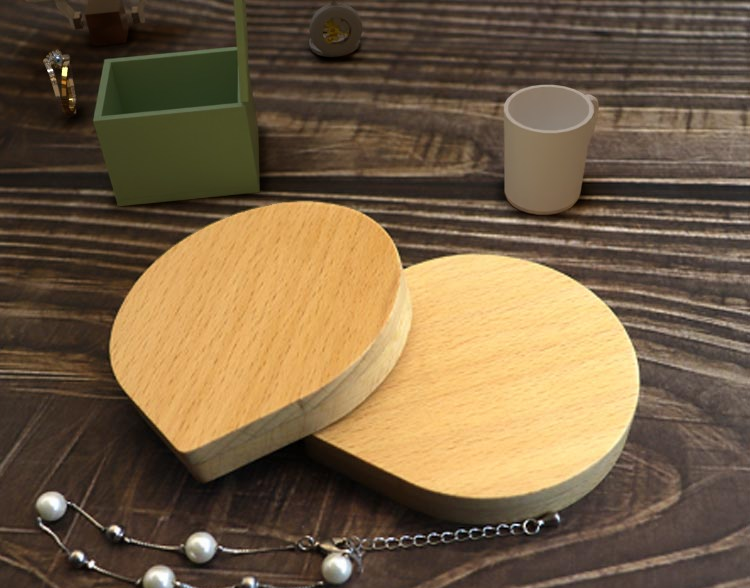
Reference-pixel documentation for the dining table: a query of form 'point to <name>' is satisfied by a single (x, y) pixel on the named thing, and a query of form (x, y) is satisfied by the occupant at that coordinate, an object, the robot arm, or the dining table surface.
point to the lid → (242, 47)
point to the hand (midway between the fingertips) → (109, 24)
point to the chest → (177, 127)
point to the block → (107, 22)
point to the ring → (67, 82)
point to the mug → (546, 147)
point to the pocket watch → (335, 30)
